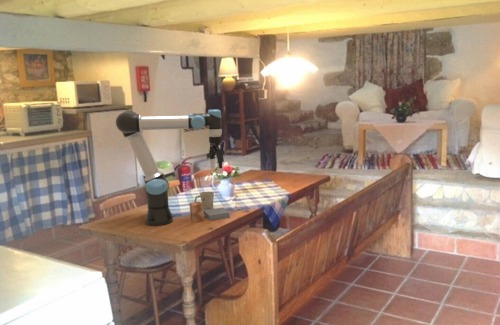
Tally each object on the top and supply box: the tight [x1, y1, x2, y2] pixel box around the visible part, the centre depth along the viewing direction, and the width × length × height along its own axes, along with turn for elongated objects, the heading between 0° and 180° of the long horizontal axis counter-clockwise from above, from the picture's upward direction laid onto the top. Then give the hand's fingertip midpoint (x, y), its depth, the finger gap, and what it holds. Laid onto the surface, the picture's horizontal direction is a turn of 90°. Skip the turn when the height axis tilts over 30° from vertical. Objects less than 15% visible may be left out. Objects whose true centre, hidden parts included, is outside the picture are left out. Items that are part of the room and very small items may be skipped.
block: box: [189, 201, 205, 223], centre depth 268 cm, size 6×6×10 cm
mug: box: [193, 190, 215, 211], centre depth 291 cm, size 8×13×10 cm, turn 78°
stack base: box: [203, 207, 231, 221], centre depth 274 cm, size 12×12×3 cm
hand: (216, 171), depth 282 cm, fingers open, 13 cm apart
